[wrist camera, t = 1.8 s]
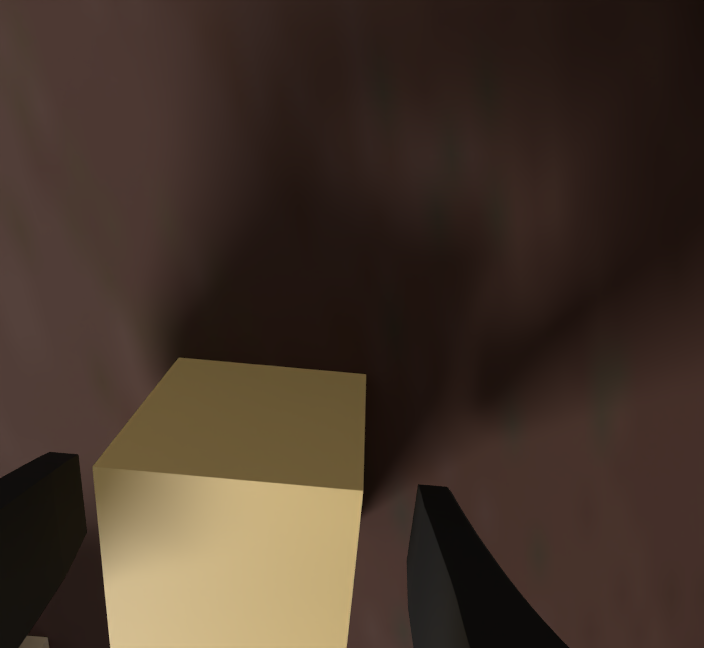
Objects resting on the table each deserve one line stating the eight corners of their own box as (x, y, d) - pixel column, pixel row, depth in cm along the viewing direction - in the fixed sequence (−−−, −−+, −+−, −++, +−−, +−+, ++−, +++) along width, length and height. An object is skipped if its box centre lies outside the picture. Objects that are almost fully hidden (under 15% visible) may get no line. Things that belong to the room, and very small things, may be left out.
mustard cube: (366, 372, 13) (363, 491, 9) (350, 523, 15) (342, 682, 11) (179, 356, 14) (92, 466, 9) (184, 508, 15) (111, 661, 11)
